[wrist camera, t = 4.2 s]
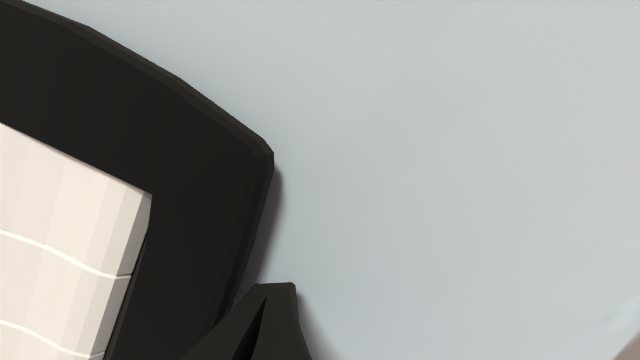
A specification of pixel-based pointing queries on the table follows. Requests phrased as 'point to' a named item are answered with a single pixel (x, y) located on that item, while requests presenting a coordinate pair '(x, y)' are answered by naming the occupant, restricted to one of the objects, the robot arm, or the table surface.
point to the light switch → (115, 198)
